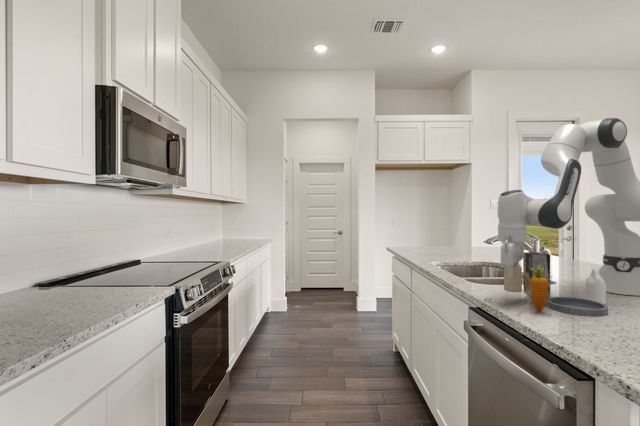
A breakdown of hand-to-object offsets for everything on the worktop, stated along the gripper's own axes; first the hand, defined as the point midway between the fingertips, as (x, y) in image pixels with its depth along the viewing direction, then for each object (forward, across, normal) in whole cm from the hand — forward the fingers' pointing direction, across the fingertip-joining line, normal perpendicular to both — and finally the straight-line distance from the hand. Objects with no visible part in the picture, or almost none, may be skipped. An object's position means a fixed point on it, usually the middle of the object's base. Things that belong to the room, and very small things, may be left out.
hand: (512, 275), depth 121 cm
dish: (+10, +4, -18) cm, 21 cm away
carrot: (+10, -8, -9) cm, 15 cm away
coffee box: (+10, +18, -5) cm, 22 cm away
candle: (+6, 0, 0) cm, 6 cm away
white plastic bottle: (+10, +18, -23) cm, 31 cm away
